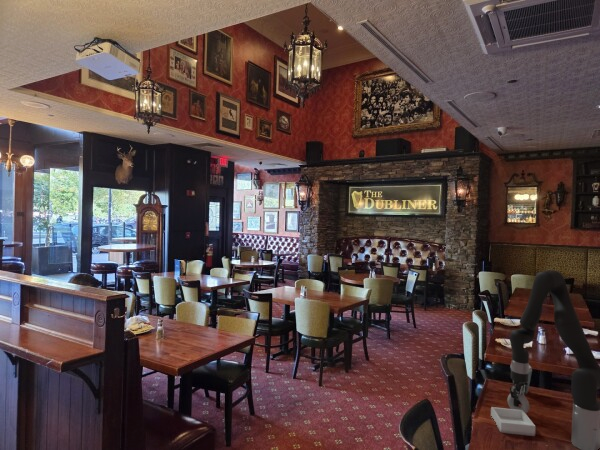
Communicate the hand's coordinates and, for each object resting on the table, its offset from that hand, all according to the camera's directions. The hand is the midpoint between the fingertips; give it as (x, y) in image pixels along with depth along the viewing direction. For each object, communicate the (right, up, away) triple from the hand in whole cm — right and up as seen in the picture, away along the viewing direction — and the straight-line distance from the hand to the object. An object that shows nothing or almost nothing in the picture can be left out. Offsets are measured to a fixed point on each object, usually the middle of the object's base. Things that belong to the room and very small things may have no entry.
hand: (518, 404), depth 190 cm
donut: (0, -4, 0) cm, 4 cm away
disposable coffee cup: (+15, -4, +24) cm, 28 cm away
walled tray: (-9, -4, -11) cm, 15 cm away
